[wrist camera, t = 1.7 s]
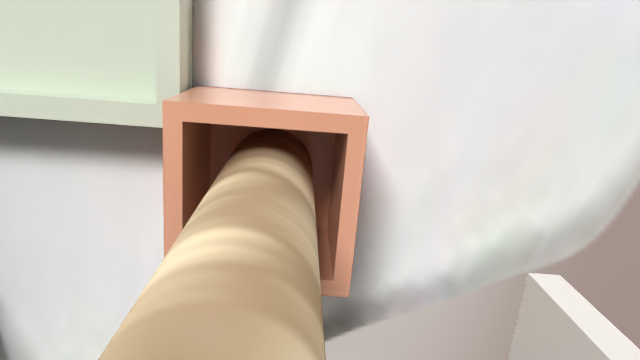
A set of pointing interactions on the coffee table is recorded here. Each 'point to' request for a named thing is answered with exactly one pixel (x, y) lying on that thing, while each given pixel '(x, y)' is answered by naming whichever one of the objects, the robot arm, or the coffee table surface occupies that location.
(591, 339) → the robot arm
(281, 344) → the dowel
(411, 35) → the coffee table surface
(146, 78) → the tray
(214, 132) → the bin
